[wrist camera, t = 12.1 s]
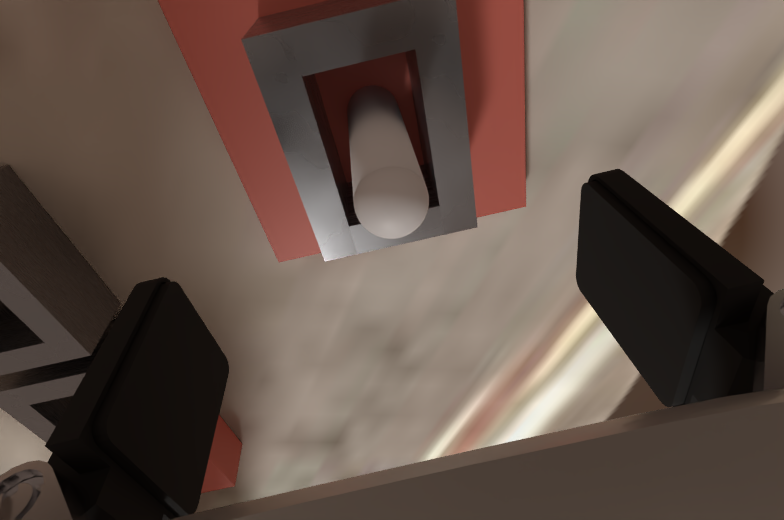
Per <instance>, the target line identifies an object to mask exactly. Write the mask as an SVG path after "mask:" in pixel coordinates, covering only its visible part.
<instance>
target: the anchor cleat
mask: <svg viewBox="0 0 784 520" xmlns="http://www.w3.org/2000/svg"><path fill="white" fill-rule="evenodd" d="M241 449H242V443H241V442H240V441H239V439H238V438H237V437H236V436H235V434H234V433H233V432H232V430H231V429H230V428H229V427H228V425H227V424H226V423H225V422H224V420H223V419H222V418H221V417H220V415H219V417H218V421H217V426H216V430H215V434H214V438H213V443H212V447H211V451H210V456H209V460H208V464H207V469H206V473H205V477H204V482H203V486H202V490H201V493H204V492H209V491H214V490H219V489H224V488H229V487H233V486H235V483H236V477H237V471H238V466H239V460H240V454H241Z"/></svg>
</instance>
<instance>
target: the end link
mask: <svg viewBox="0 0 784 520" xmlns="http://www.w3.org/2000/svg"><path fill="white" fill-rule="evenodd" d="M241 41H242V43H243V46H244V49H245V51H246V54H247V57H248V59H249V62H250V64H251V67H252V70H253V72H254V75H255V78H256V80H257V83H258V86H259V88H260V91H261V94H262V96H263V99H264V102H265V104H266V107H267V110H268V112H269V115H270V117H271V120H272V123H273V125H274V128H275V131H276V133H277V136H278V139H279V141H280V144H281V147H282V149H283V152H284V155H285V157H286V160H287V162H288V165H289V168H290V170H291V173H292V176H293V178H294V181H295V184H296V186H297V189H298V192H299V194H300V197H301V200H302V202H303V205H304V208H305V210H306V213H307V215H308V218H309V221H310V223H311V226H312V229H313V231H314V234H315V237H316V239H317V242H318V245H319V247H320V250H321V253H322V255H323V258H324V261H329V260H333V259H338V258H342V257H347V256H351V255H356V254H360V253H365V252H369V251H374V250H378V249H382V248H387V247H391V246H396V245H400V244H405V243H409V242H414V241H418V240H422V239H427V238H431V237H436V236H440V235H445V234H449V233H454V232H458V231H463V230H467V229H471V228H476V227H477V217H476V207H475V196H474V186H473V175H472V165H471V154H470V144H469V133H468V122H467V112H466V101H465V91H464V80H463V70H462V59H461V49H460V38H459V28H458V17H457V7H456V0H328V1H324V2H320V3H316V4H312V5H308V6H304V7H300V8H296V9H292V10H288V11H284V12H279V13H275V14H271V15H267V16H263V17H259V18H258V19H257V20H256V21H255V23H254V24H253V25H252V26H251V28H250V29H249V30H248V31H247V33H246V34H245V35H244V37H243V38H242V39H241ZM402 52H405V54H406V59H407V65H408V71H409V77H410V83H411V89H412V95H413V101H414V107H415V113H416V119H417V125H418V131H419V137H420V143H421V149H422V155H423V161H424V165H419V167H420V170H421V173H422V176H423V178H424V181H425V184H426V187H427V191H428V195H429V207H428V211H427V214H426V217H425V219H424V220H423V222H422V223H421V225H420V226H419V227H418V228H417V229H416V230H415V231H413V232H412V233H410V234H408V235H407V236H404V237H401V238H396V239H387V238H382V237H378V236H376V235H374V234H372V233H370V232H369V231H368V230H367V229H365V228H364V226H363V225H362V224H361V223H360V221H359V220H358V218H357V216H356V213H355V209H354V202H353V187H352V181H350V182H347V181H346V178H345V175H344V171H343V168H342V165H341V161H340V158H339V154H338V151H337V148H336V144H335V141H334V137H333V134H332V131H331V127H330V124H329V121H328V117H327V114H326V110H325V107H324V104H323V100H322V97H321V93H320V90H319V87H318V83H317V80H316V76H315V73H319V72H323V71H327V70H332V69H336V68H340V67H344V66H348V65H352V64H356V63H360V62H365V61H369V60H373V59H377V58H381V57H385V56H389V55H394V54H398V53H402Z"/></svg>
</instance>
